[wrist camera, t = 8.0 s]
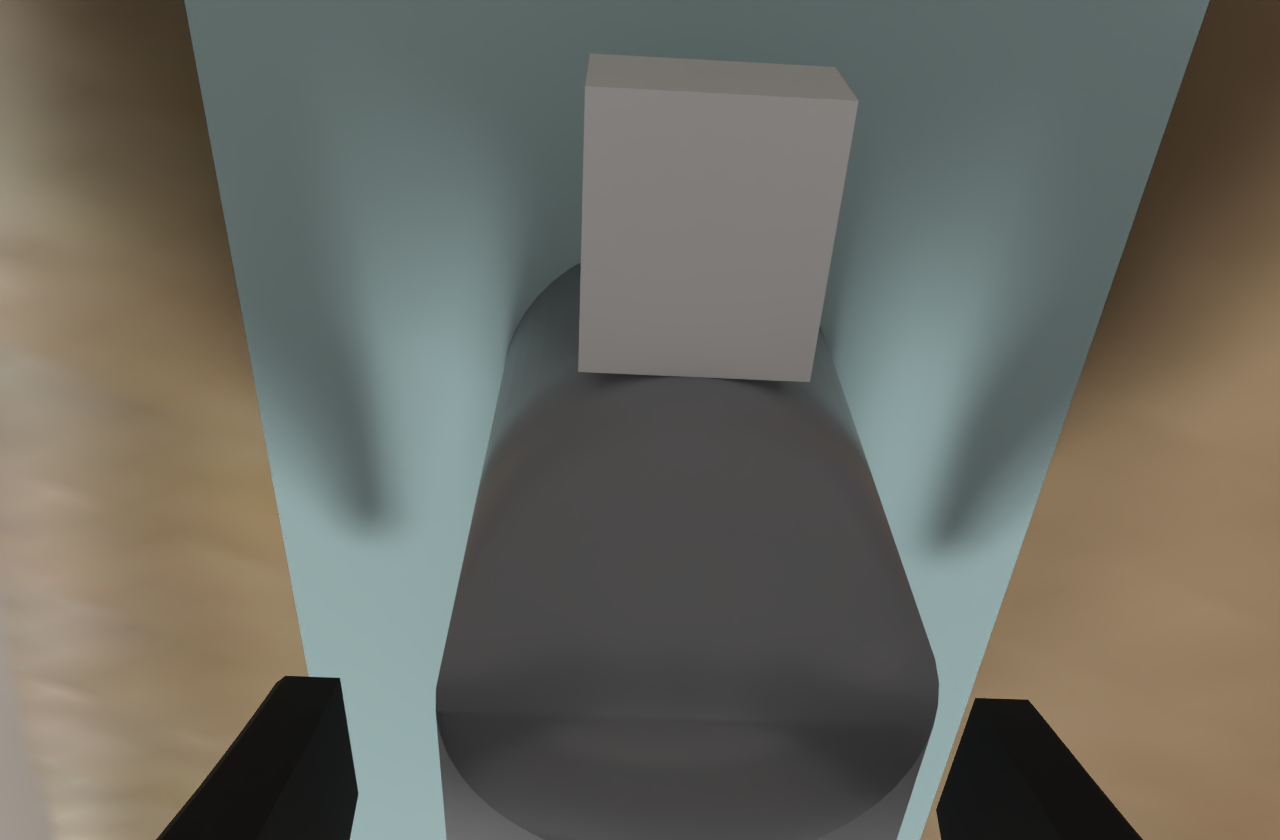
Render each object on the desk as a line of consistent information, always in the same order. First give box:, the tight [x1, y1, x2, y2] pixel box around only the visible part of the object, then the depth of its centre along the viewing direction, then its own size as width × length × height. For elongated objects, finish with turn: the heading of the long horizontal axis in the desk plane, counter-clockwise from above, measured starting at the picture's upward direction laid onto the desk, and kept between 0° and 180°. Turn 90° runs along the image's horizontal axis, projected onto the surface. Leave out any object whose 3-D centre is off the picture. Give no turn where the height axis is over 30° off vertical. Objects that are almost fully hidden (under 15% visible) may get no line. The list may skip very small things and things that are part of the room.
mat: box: [184, 0, 1210, 840], centre depth 14 cm, size 18×10×1 cm, turn 177°
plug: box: [436, 53, 939, 840], centre depth 11 cm, size 12×4×5 cm, turn 177°
